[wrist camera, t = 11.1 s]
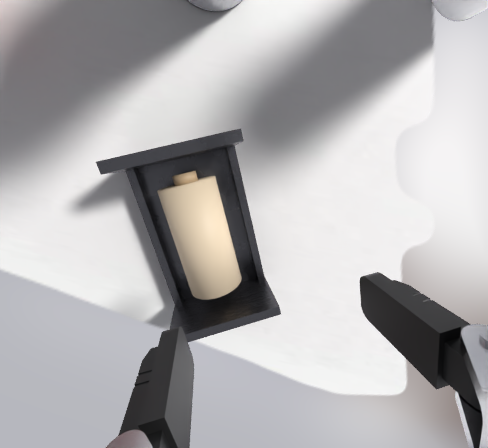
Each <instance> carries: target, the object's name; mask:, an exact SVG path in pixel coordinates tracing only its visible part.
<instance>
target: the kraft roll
mask: <svg viewBox="0 0 488 448" xmlns="http://www.w3.org/2000/svg"><path fill="white" fill-rule="evenodd" d="M172 178H173V181H174V184H175V185H171V186H168V187H165V188H162V189H159V190H157V192H158V195H159V198H160V201H161V204H162V207H163V210H164V213H165V216H166V219H167V222H168V225H169V228H170V230H171V233H172V236H173V239H174V242H175V245H176V248H177V251H178V254H179V257H180V260H181V263H182V266H183V269H184V272H185V275H186V278H187V281H188V284H189V287H190V290H191V293H192V295H193V296H194V297H195V298H198V299H202V300H209V299H215V298H219V297H221V296H224V295H226V294H228V293H230V292H231V291H233V290H234V289H235V288H237V286H238V285H239V284H240V282H241V274H240V270H239V266H238V262H237V258H236V255H235V251H234V247H233V243H232V239H231V235H230V232H229V228H228V224H227V220H226V216H225V212H224V208H223V205H222V201H221V197H220V193H219V189H218V185H217V182H216V178H215V176H209V177H203V178H199V179H198V178H197V174H196V171H191V172H186V173H182V174H178V175H175V176H172Z"/></svg>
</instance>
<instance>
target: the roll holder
mask: <svg viewBox="0 0 488 448" xmlns="http://www.w3.org/2000/svg"><path fill="white" fill-rule="evenodd" d="M242 141H243V137H242V132H241V129H237V130H233V131H228V132H224V133H219V134H215V135H211V136H206V137H202V138H198V139H193V140H189V141H185V142H180V143H176V144H172V145H167V146H163V147H159V148H154V149H150V150H146V151H141V152H137V153H133V154H128V155H124V156H120V157H115V158H111V159H107V160H102V161H98V162H96V163H97V166H98V168H99V171H100V173H101V174H108V173H116V172H124V171H126V173H127V175H128V178H129V181H130V184H131V186H132V189H133V192H134V194H135V197H136V200H137V203H138V205H139V208H140V211H141V213H142V216H143V219H144V222H145V224H146V227H147V230H148V232H149V235H150V238H151V241H152V243H153V246H154V249H155V251H156V254H157V257H158V260H159V262H160V265H161V268H162V270H163V273H164V276H165V279H166V281H167V284H168V287H169V289H170V292H171V295H172V297H173V300H174V303H175V308H174V312H173V317H172V321H171V326H170V329H174V328H177V327H182V329H183V331H184V334H185V336H186V339H187V342H190V341H194V340H197V339H200V338H204V337H207V336H210V335H214V334H217V333H220V332H224V331H227V330H230V329H234V328H237V327H240V326H243V325H247V324H250V323H253V322H257V321H260V320H263V319H267V318H270V317H273V316H276V315H280V314H281V312H280V308H279V305H278V303H277V301H276V299H275V297H274V295H273V293H272V291H271V289H270V287H269V285H268V283H267V281H266V279H265V277H264V273H263V269H262V265H261V260H260V256H259V252H258V247H257V243H256V238H255V234H254V230H253V225H252V221H251V217H250V212H249V208H248V203H247V199H246V195H245V190H244V186H243V182H242V177H241V173H240V168H239V164H238V160H237V155H236V151H235V147H234V146H235V145H237V144H239V143H240V142H242ZM191 171H196V174H197V178H198V179H199V178H203V177H209V176H215V178H216V182H217V185H218V189H219V193H220V197H221V201H222V205H223V208H224V212H225V216H226V220H227V224H228V228H229V232H230V235H231V239H232V243H233V247H234V251H235V255H236V258H237V262H238V266H239V270H240V274H241V282H240V284H239V285H238V286H237V288H235V289H234V290H233V291H231V292H230V293H228V294H226V295H224V296H221V297H219V298H215V299H209V300H202V299H198V298H195V297H194V296H193V295H192V293H191V290H190V287H189V284H188V281H187V278H186V275H185V272H184V269H183V266H182V263H181V260H180V257H179V254H178V251H177V248H176V245H175V242H174V239H173V236H172V233H171V230H170V228H169V225H168V222H167V219H166V216H165V213H164V210H163V207H162V204H161V201H160V198H159V195H158V192H157V190H159V189H162V188H165V187H168V186H171V185H175V184H174V181H173V178H172V176H175V175H178V174H182V173H186V172H191Z"/></svg>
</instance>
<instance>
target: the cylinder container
mask: <svg viewBox="0 0 488 448" xmlns="http://www.w3.org/2000/svg"><path fill="white" fill-rule="evenodd" d="M432 2H433V4H434V6H435V8H436V9H437V11H438V12H439V13H440V14H441V15H442V16H444V17H445V18H447V19H449V20H453V21H463V20H467V19H469V18H472V17H473V16H475V15H477V14H479V13H481V12H483V11H485V10H486V9H488V0H432Z"/></svg>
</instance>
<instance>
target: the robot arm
mask: <svg viewBox="0 0 488 448" xmlns="http://www.w3.org/2000/svg"><path fill="white" fill-rule="evenodd" d="M188 1H189V2H191V3H192V4H193V5H195V6H197V7H199V8H202V9H204V10H209V11H224V10H227V9H230V8H232V7H234V6H236V5H237V4H239V3H240V2H241V1H242V0H188ZM360 293H361V307H362V310H363V313H364V315H365V316H366V318H367V319H368V320H369V322H370V323H371V324H372V325H373V326H374V327H375V328H376V329H377V330H378V331H379V332H380V333H381V334H382V335H383V336H384V337H385V338H386V339H387V340H388V341H389V342H390V343H391V344H392V345H393V346H394V347H395V348H396V349H397V350H398V351H399V352H400V353H401V354H402V355H403V356H404V357H405V358H406V359H407V360H408V361H409V362H410V363H411V364H412V365H413V366H414V367H415V368H416V369H417V370H418V371H419V372H420V373H421V374H422V375H423V376H424V377H425V378H426V379H427V380H428V381H429V382H430V383H431V384H432V385H433V386H434V387H435V388H436V389H439V388H442V387H445V386H448V385H450V386H451V387H453V389H454V390H455V391H456V394H455V397H456V402H457V405H458V409H459V413H460V416H461V420H462V424H463V427H464V431H465V435H466V438H467V442H468V445H469V448H488V325H481V324H472V325H471V324H469V323H468V322H466V321H464V320H463V319H461V318H460V317H458V316H457V315H455V314H453V313H452V312H450V311H449V310H447V309H445V308H444V307H442V306H441V305H439V304H437V303H436V302H435V301H433V300H432V301H431V300H430V298H428V297H426V296H425V295H423V294H421V293H420V292H419V291H417V290H416V289H414V288H413V287H411V286H409V285H407V284H404V283H401V282H398V281H396V280H393V281H392V280H390V279H389V278H387V277H386V276H384V275H383V274H381V273H379V272H377V273H373V274H370V275H366V276H362V277H361V278H360ZM193 379H194V363H193V357H192V353H191V351H190V348H189V345H188V342H187V339H186V336H185V334H184V331H183V329H182V327H177V328H174V329H170V330H166V331H163V332H162V334H161V338H160V341H159V345H158V347H155V348H152V349H150V351H149V352H148V354H147V355H146V356H145V358H144V359H143V361H142V363H141V366H140V370H139V373H138V376H137V379H136V382H135V387H134V389H133V392H132V395H131V398H130V402H129V404H128V408H127V411H126V414H125V417H124V420H123V424H122V426H121V430H120V433H119V435H118V437H116V438H115V439H114V440H113V441H112V442H111V443H110V444H109V445H108V446H107V447H106V448H189V446H190V444H189V443H190V429H191V412H192V396H193Z"/></svg>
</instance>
